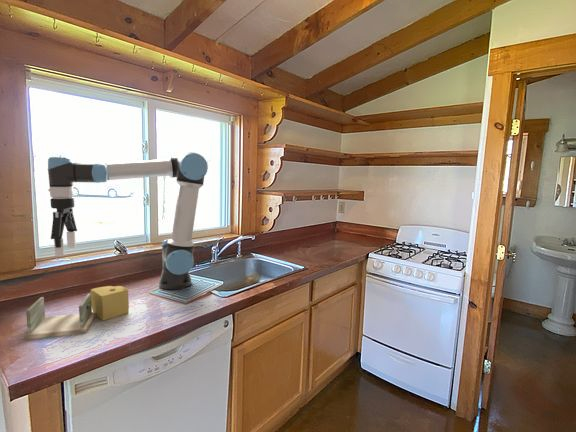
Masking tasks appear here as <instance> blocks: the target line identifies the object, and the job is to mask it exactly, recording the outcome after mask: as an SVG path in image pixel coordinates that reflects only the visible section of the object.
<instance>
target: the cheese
mask: <svg viewBox="0 0 576 432" xmlns="http://www.w3.org/2000/svg"><path fill="white" fill-rule="evenodd" d="M89 291H90V293H91V306H92V312H95V313H96V316H95V317H98V319H100V320H101V321H104V322H105V321H107V320H111V319H114V318H116V317H119V316H123V315H126V314H129V312H130V311H129V310H130V306H129V305H130V303H129V302H130V301H129V289H127V288H126V287H124V286H122V285H116V286H112V285H107V286H100V287H99V286H98V287H95V288H90V290H89Z"/></svg>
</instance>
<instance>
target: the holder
mask: <svg viewBox="0 0 576 432" xmlns="http://www.w3.org/2000/svg"><path fill="white" fill-rule="evenodd" d="M45 311H46V310H45V297H44V296H41V297H39V298H38V299H37V300H36V301H35V302H33V303H32V304H31V305H30V306H29V307H28V308H27V309H26V311H25V316H26V326H27V328H26V329H27V330H26V332H24V333H23V335H22V340H24V341H26V340H34V339H35V340H36V339H44V338H52V337H60V336H61V337H62V336H70V335H80V334H81V335H82V334H87V332H88V330H89V329H90V327H91V325H92V323H93V322H94V320H95V317H97V316H96V313H95V312H93V310H92V306H91V293H87V294H86V295H85V297H84V299H82V301H81V303H80V304H79V305H78V313H73V314H72V313H71V314H63V315H62V314H61V315H51V316H46V312H45Z"/></svg>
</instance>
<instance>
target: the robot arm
mask: <svg viewBox="0 0 576 432" xmlns="http://www.w3.org/2000/svg"><path fill="white" fill-rule="evenodd" d="M208 166H209V165H208V162H207V160H206V158H205V157H204V156H203V155H202V154H200V153H197V152H187V153H184V154H182V155H176V156H169V157H167V159H151V160H149V159H148V160H135V161H131V160H130V161H117V162H116V161H115V162H102V163H101V162H99V163H98V162H95V163H94V162H93V163H90V162H85V163H84V162H80V163H79V162H73V161H72V158H71V157H64V156H63V157H60V156H59V157H57V156H51V157H48V159H47V171H48V172H47V173H48V184H49V188H48V189H47V190H48V192H49V195H50V197H51V198H50V200H49V201H50V207H51V209H56V211H53V212H52V225H51V226H52V227H51V234H50V239H51V240H53V242H54V256H55V257H62V256H65V245H64V237H63V234H64V228H66V230H67V231H66V242H67V244H66V245H67V248H68V249H71V248H72V249H73V248H76V245H77V244H76V232H77V231H78V229H77V224H76V221H75V217H74V212H73V208H74V207H75V199H74V198H73V197H75V194H74V183H96V184H99V183H107V182H108V181H114V180H125V179H127V180H128V179H129V180H130V179H140V178H142V179H143V178H154V177H155V178H156V177H170V178H175V179H176V180H175V181H176V183H177V184H178V191H177V198H176V205H175V213H174V220H173V225H172V233H171V238H169V239H164V240H162V243H161V250H162V251H161V252H162V253H161V254H162V255H161V257H162V259H161V260H162V271H161V275H160V278H159V281H158V285H159V288H160V289H162V288H166V289H165V290H167V289H176V290H182V289H181V288H183V289H186V288H188V287H190V286H191V285H192V278H191V277H192V276H191V275H190V271H191V269H192V268H193V267H194V262H195V260H194V248H195V243H194V242H193V240H192V239H193V231H194V227H195V226H194V225H195V219H196V213H197V212H196V211H197V205H198V198H199V190H200V189H201V188H202V187H203V186H204V182H205V176H206V175H207V173H208V168H209V167H208ZM190 284H191V285H190ZM189 285H190V286H189ZM187 286H188V287H187ZM185 287H186V288H185Z"/></svg>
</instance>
